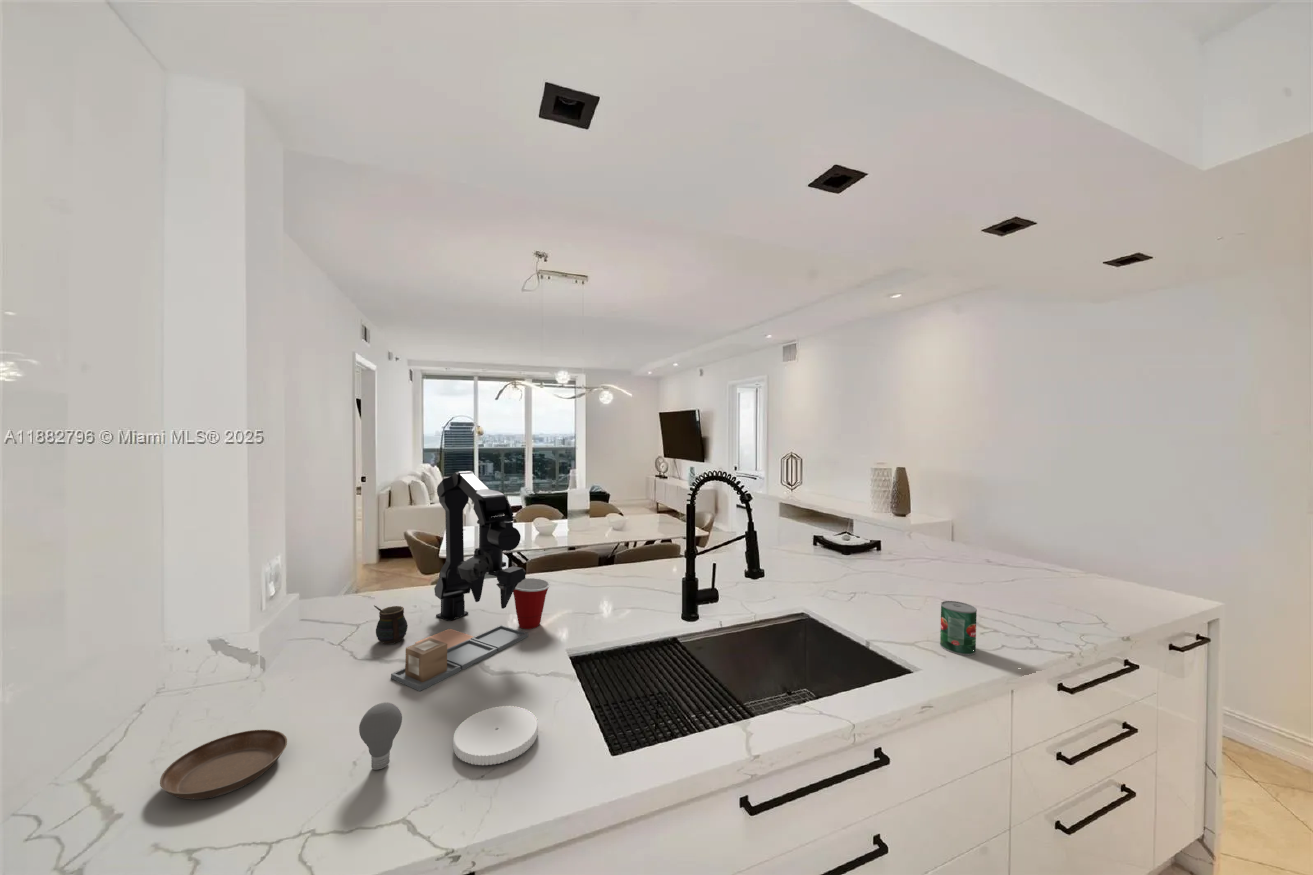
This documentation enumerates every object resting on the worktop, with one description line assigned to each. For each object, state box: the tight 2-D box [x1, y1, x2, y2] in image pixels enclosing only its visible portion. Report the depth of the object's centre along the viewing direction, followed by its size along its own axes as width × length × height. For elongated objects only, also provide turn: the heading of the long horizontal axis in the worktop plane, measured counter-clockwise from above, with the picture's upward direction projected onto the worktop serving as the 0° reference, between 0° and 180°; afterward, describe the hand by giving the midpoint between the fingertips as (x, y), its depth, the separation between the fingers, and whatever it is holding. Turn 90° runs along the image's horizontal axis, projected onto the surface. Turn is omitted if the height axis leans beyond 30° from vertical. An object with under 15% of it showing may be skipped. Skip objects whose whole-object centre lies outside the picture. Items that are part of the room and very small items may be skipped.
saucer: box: [159, 729, 288, 801], centre depth 75 cm, size 15×15×3 cm
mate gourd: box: [373, 605, 409, 645], centre depth 122 cm, size 7×8×10 cm
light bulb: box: [358, 701, 403, 770], centre depth 77 cm, size 6×6×10 cm
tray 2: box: [447, 639, 498, 671], centre depth 115 cm, size 10×10×1 cm
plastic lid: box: [452, 705, 539, 766], centre depth 84 cm, size 14×14×2 cm
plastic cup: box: [512, 577, 552, 630], centre depth 134 cm, size 11×11×12 cm
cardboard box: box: [404, 638, 447, 682], centre depth 106 cm, size 6×6×6 cm
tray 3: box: [471, 624, 529, 652], centre depth 124 cm, size 10×10×1 cm
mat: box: [414, 628, 474, 649], centre depth 123 cm, size 10×10×1 cm
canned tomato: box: [939, 600, 978, 656], centre depth 124 cm, size 8×8×11 cm
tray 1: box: [390, 661, 462, 692], centre depth 106 cm, size 10×10×1 cm
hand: (490, 604), depth 121 cm, fingers open, 9 cm apart
